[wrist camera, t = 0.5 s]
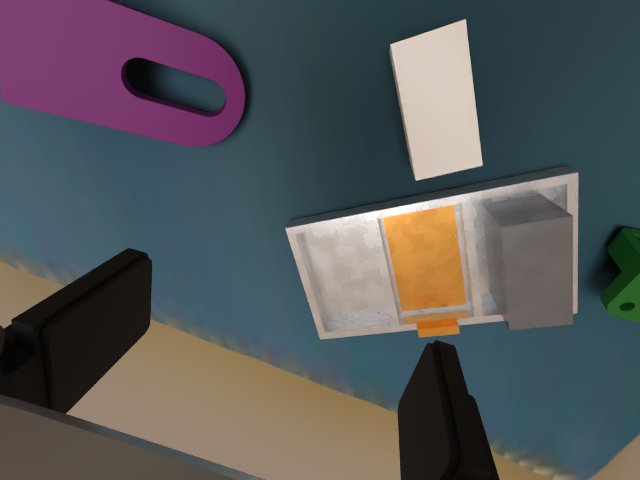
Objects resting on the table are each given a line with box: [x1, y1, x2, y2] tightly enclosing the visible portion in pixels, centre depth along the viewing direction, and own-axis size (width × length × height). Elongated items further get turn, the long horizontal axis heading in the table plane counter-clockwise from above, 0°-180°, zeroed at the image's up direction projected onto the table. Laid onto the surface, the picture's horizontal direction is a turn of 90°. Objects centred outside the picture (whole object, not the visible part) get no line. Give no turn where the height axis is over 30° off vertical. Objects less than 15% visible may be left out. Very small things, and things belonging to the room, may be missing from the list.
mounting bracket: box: [0, 0, 245, 147], centre depth 32 cm, size 9×8×18 cm
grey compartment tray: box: [285, 166, 578, 339], centre depth 34 cm, size 26×14×6 cm, turn 105°
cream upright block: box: [389, 19, 483, 181], centre depth 28 cm, size 10×5×6 cm, turn 16°
